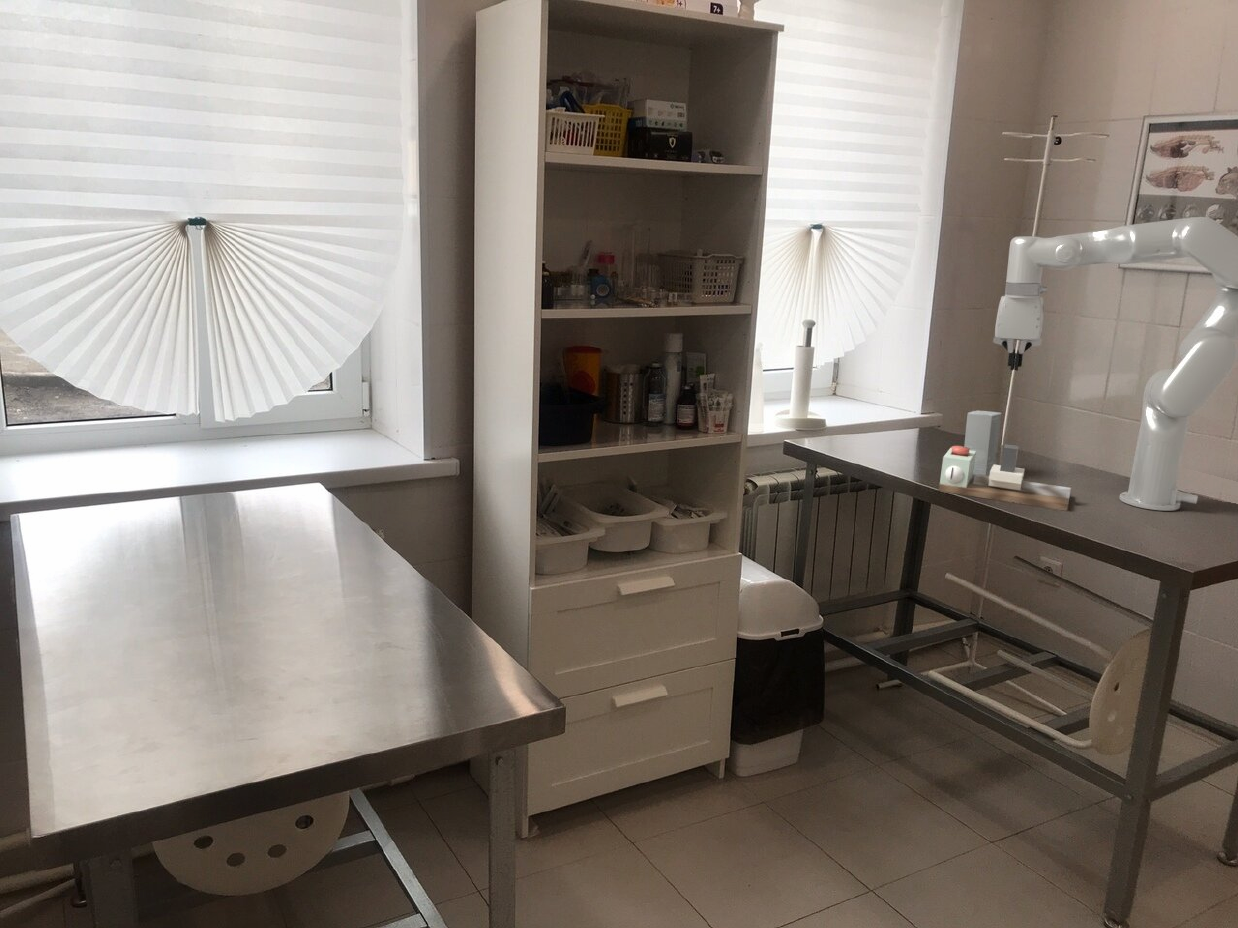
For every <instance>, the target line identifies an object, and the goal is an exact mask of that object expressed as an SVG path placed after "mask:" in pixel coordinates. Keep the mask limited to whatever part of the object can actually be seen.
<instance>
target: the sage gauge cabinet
mask: <svg viewBox="0 0 1238 928" xmlns="http://www.w3.org/2000/svg"><path fill="white" fill-rule="evenodd" d="M951 451H952V447H950V448H949V449H948V450H947V452H946V453H945V454H944V455H943V456H942V465H941V470H940V471H941V472H940V478H939V479H940V481H939V484H945V485H952V486H958V487H965V488H966V487H967V486H968V484H969V482H970V480H971V479H972V476H974V475H973V469H974V463H975V456H976V451H972V450H969V454H967V455H966V457H965V456H958V455H954V453H952V452H951Z"/></svg>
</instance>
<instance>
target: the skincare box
mask: <svg viewBox="0 0 1238 928" xmlns="http://www.w3.org/2000/svg"><path fill="white" fill-rule="evenodd" d="M1002 414H1003V413H1002V412H997V411H989V410H988V411H987V410H979V409H978V410H972V411H969V412H967V416H966V425H965V426H966V427H965V434H964V435H965V436H964V437H965V438H964V447H968V448H970V450H972V451H976V456H975V463H974V469H973V476H975V474H981V475H987V476H989V475H990V470H991V468H992V466H993V465H994V464H995V465H997V458H998V451H999V450H998V448H999V443H1000V442H999V441H1000V431H1001V422H1002V416H1003V415H1002Z"/></svg>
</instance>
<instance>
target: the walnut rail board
mask: <svg viewBox="0 0 1238 928" xmlns="http://www.w3.org/2000/svg"><path fill="white" fill-rule="evenodd" d="M988 485H989V476H987V475H981V474H975V475H973V476H972V479H971V480H970V482H969V484H968V486H967V487H966V488H965V487H958V486H952V485H945V484H940V483H939V484H938V489H937V491H939V492H944V493H950V494H957V495H964V496H969V497H977V498H982V499H989V500H995V501H1002V502H1007V503H1013V502H1014V503H1015V504H1020V503H1021V504H1020V505H1027V506H1028V505H1029V506H1032V507H1033V506H1034V507H1040V508H1047V509H1053V510H1059V511H1065V512H1067V511H1068V509H1069V502H1070V496H1071V495H1070V494H1071V490H1072V487H1067V486H1061V485H1054V484H1046V483H1041V482H1035V481H1034V482H1033V481H1026V480H1023V481H1022V483H1021V490H1015V489H1008V488H1002V487H995V486H988Z"/></svg>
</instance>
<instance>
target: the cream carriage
mask: <svg viewBox="0 0 1238 928" xmlns="http://www.w3.org/2000/svg"><path fill="white" fill-rule="evenodd" d="M1018 453H1019V445H1013V444H1007V443H1005V444H1004V446H1003V448H1002V455H1001V462H1000V464H996V465H995V464H994V465H993V466H992V468H991V470H990V475H989V485H988V486H995V487H1002V488H1008V489H1015V490H1021V483H1022V481H1024V476H1025V468H1024V467H1023V468H1020V467H1017V466H1016V465H1017V461H1018V460H1017V459H1018Z"/></svg>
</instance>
